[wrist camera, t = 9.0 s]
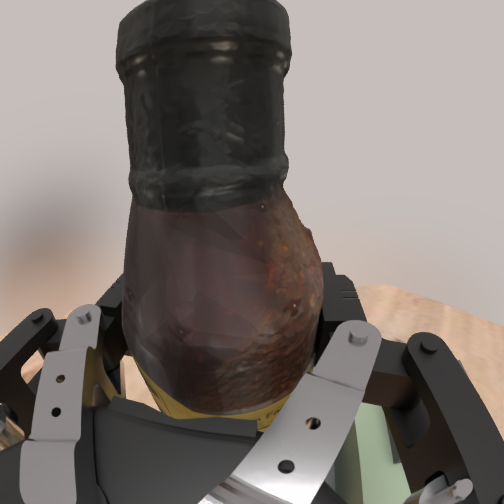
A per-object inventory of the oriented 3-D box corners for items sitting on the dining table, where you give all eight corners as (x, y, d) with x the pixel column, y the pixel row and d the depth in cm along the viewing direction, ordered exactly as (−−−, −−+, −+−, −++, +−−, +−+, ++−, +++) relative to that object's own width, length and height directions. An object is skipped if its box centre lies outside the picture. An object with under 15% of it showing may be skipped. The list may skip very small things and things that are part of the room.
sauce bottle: (203, 404, 17) (150, 64, 8) (293, 411, 16) (315, 50, 8) (181, 484, 11) (23, 32, 2) (290, 497, 10) (359, -45, 2)
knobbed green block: (154, 526, 10) (71, 492, 5) (192, 394, 23) (166, 301, 18) (441, 514, 8) (540, 456, 3) (413, 392, 21) (460, 302, 16)
